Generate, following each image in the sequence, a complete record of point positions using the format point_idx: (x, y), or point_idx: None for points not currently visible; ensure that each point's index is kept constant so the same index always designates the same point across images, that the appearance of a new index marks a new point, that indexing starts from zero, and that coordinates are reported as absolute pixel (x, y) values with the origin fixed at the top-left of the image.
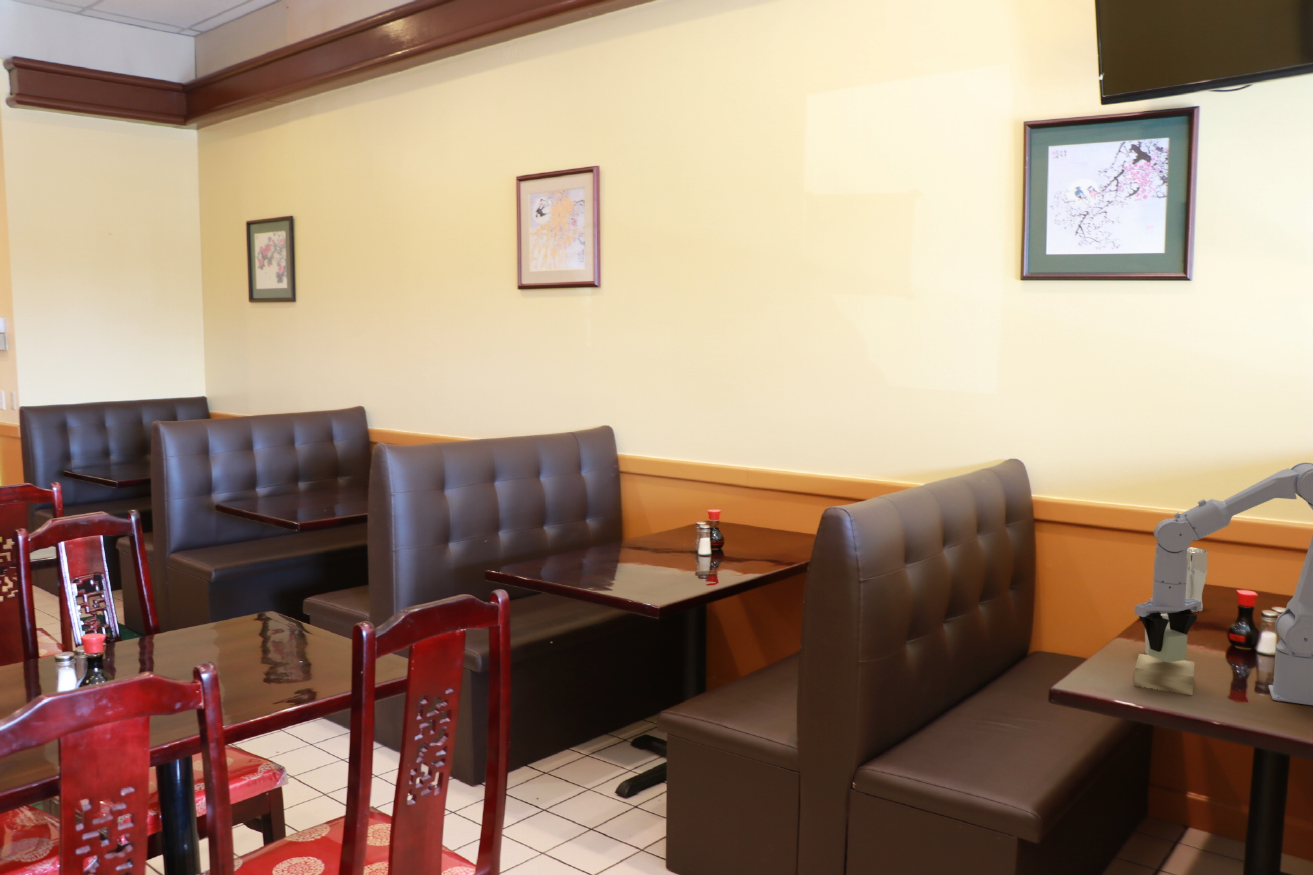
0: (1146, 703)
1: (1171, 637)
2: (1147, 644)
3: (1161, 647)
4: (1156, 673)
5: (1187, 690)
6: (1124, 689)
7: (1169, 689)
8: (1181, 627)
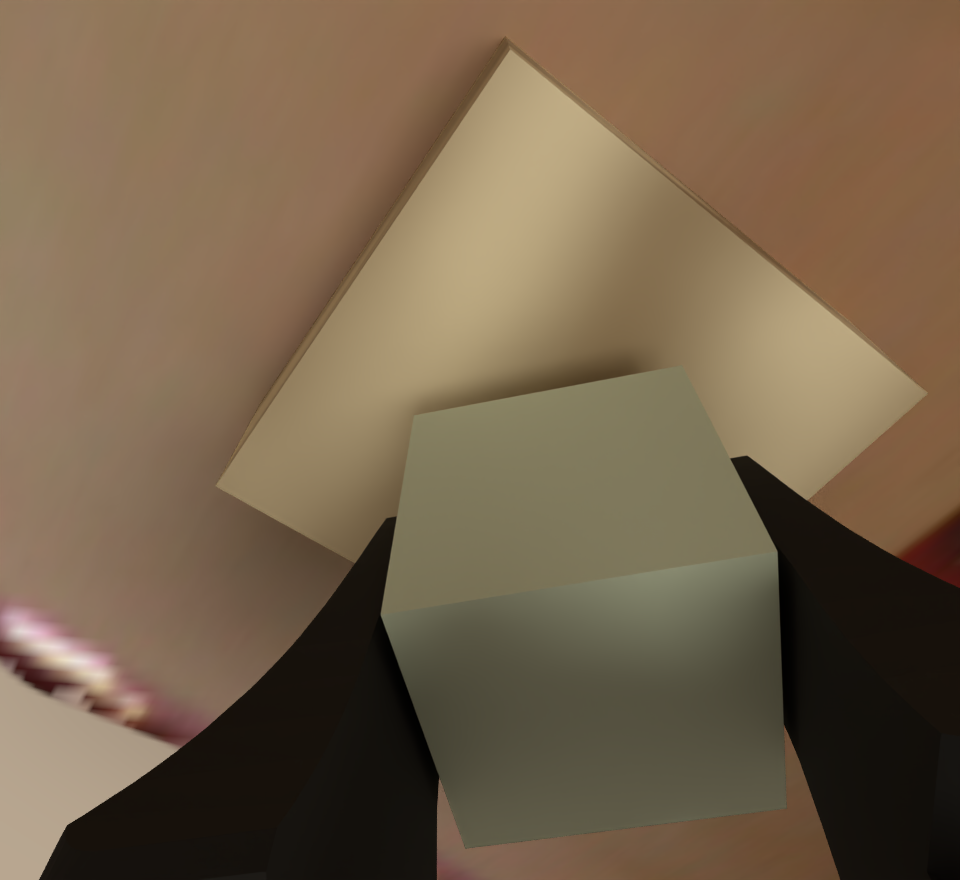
0: (192, 674)
1: (510, 833)
2: None
3: None
4: None
5: None
6: (149, 464)
7: None
8: (823, 796)
